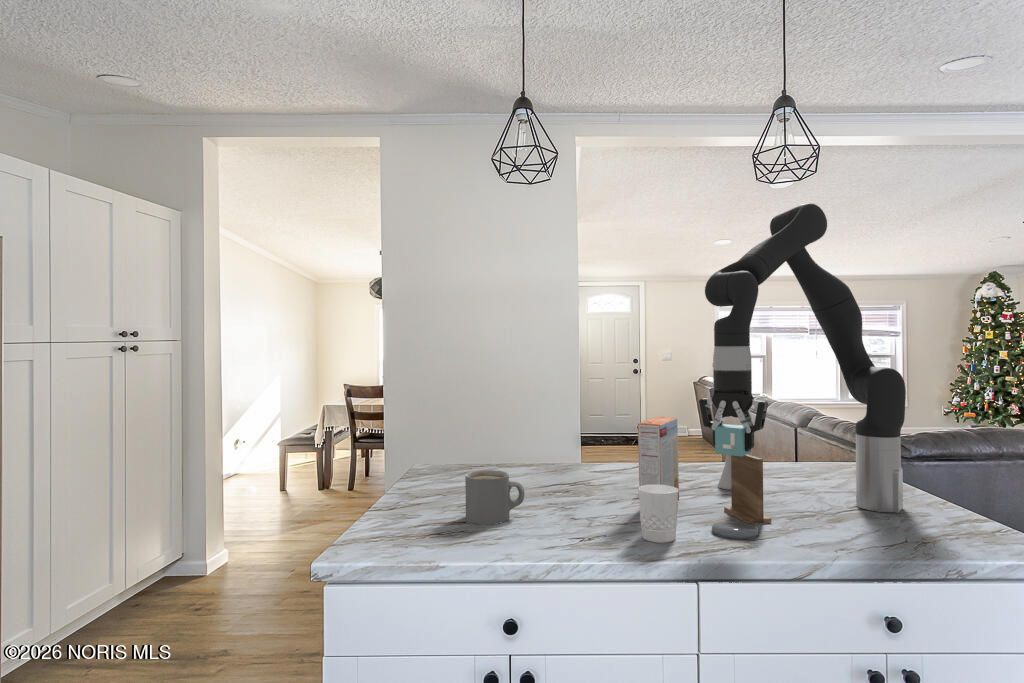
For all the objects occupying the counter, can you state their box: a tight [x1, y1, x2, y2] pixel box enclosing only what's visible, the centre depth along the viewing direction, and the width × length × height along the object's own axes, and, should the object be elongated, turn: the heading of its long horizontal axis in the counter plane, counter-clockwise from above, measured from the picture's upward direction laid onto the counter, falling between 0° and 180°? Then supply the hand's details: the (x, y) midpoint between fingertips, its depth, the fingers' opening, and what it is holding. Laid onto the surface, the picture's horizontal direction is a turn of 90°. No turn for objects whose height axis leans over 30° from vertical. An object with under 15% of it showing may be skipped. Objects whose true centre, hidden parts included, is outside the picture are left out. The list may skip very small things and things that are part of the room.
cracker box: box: [637, 416, 680, 502], centre depth 154 cm, size 14×6×21 cm, turn 149°
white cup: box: [638, 485, 679, 544], centre depth 129 cm, size 8×8×10 cm
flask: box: [717, 455, 731, 491], centre depth 172 cm, size 7×7×10 cm
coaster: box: [711, 521, 759, 540], centre depth 132 cm, size 9×9×1 cm
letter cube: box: [714, 423, 752, 456], centre depth 132 cm, size 6×6×6 cm
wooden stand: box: [723, 454, 772, 525], centre depth 144 cm, size 5×11×14 cm, turn 11°
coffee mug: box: [464, 469, 525, 525], centre depth 145 cm, size 13×10×10 cm
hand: (733, 449), depth 132 cm, fingers closed on letter cube, 5 cm apart
